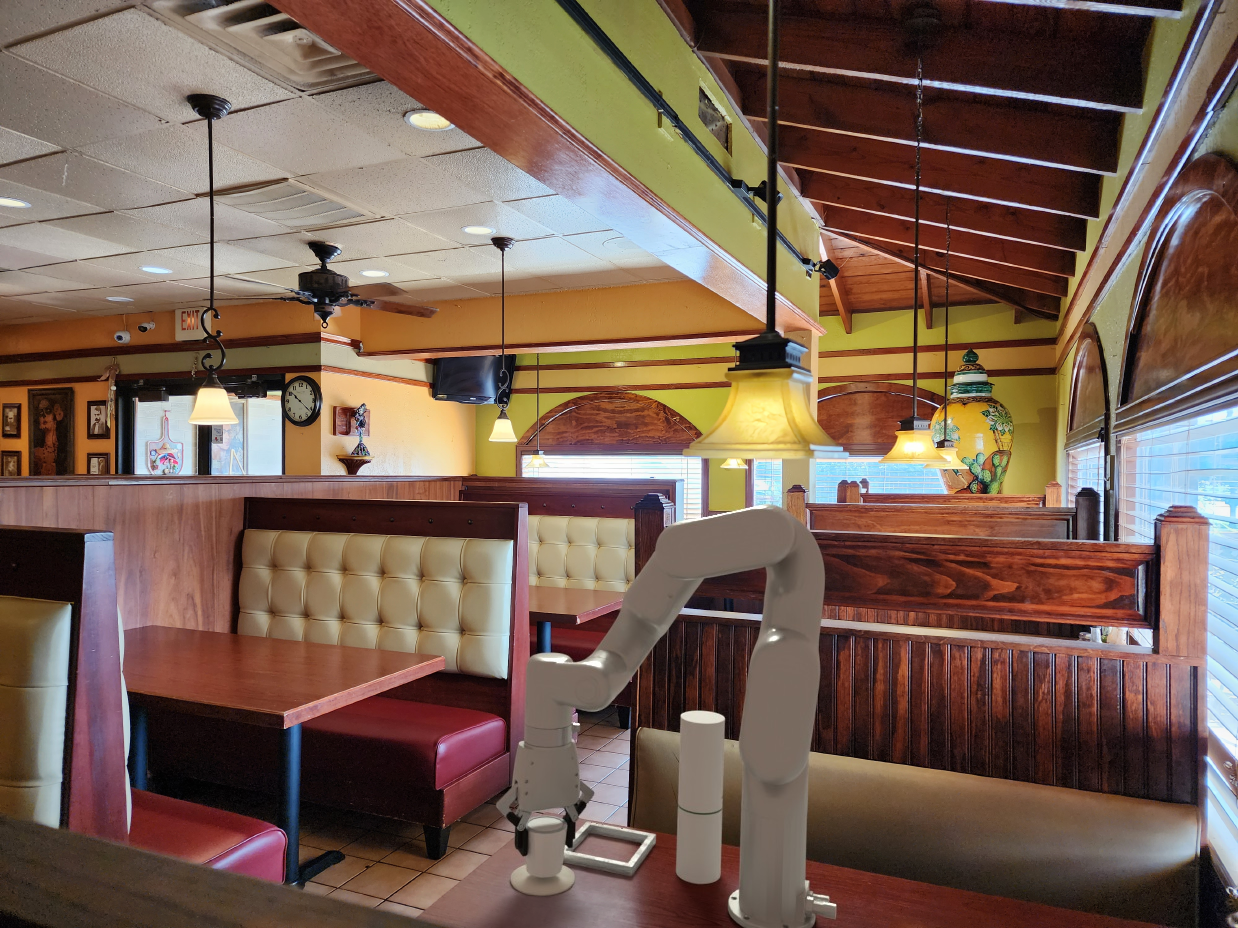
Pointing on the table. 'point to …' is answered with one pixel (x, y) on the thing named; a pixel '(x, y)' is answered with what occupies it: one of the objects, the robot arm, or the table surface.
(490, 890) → the table surface
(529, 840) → the white cup
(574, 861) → the holder collar
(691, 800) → the cylindrical container
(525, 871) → the cream flat disc
